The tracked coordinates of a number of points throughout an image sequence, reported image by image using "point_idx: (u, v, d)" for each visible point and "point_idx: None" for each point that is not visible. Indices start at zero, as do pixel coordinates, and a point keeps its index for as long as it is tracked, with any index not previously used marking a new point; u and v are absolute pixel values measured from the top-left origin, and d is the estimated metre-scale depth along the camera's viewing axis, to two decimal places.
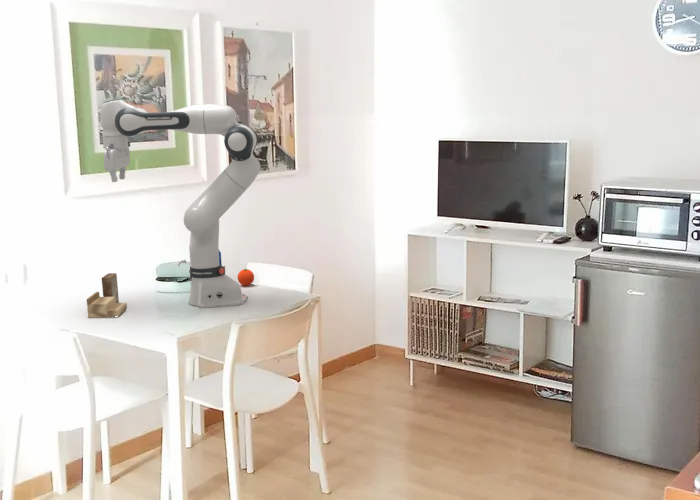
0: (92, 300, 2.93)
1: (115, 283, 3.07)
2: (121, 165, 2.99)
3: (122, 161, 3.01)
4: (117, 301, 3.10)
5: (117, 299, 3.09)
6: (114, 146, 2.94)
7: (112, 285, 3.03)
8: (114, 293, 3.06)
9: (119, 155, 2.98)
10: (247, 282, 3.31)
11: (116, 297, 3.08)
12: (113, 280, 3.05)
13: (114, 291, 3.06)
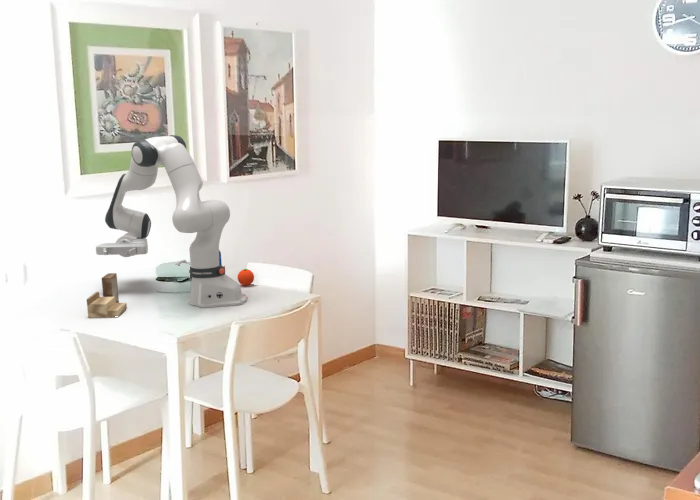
0: (92, 300, 2.93)
1: (115, 283, 3.07)
2: (118, 245, 3.21)
3: (124, 245, 3.22)
4: (117, 301, 3.10)
5: (117, 299, 3.09)
6: None
7: (112, 285, 3.03)
8: (114, 293, 3.06)
9: (120, 244, 3.25)
10: (247, 282, 3.31)
11: (116, 297, 3.08)
12: (113, 280, 3.05)
13: (114, 291, 3.06)
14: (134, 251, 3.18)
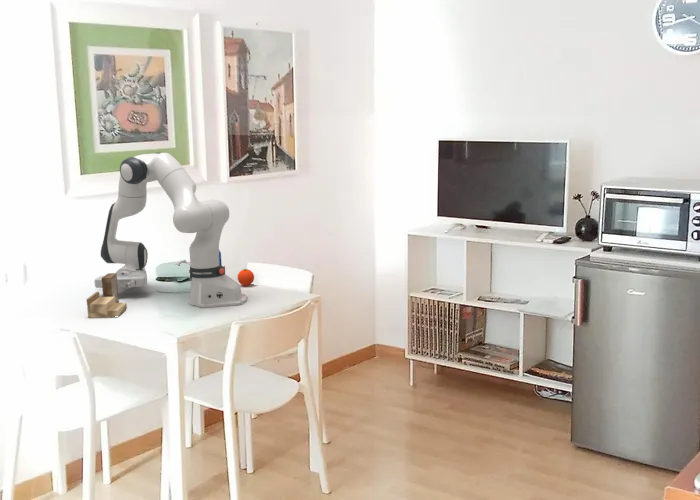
0: (92, 300, 2.93)
1: (115, 283, 3.07)
2: (117, 278, 3.17)
3: (123, 277, 3.18)
4: (117, 301, 3.10)
5: (117, 299, 3.09)
6: None
7: (112, 285, 3.03)
8: (114, 293, 3.06)
9: (119, 276, 3.21)
10: (247, 282, 3.31)
11: (116, 297, 3.08)
12: (113, 280, 3.05)
13: (114, 291, 3.06)
14: (133, 284, 3.15)
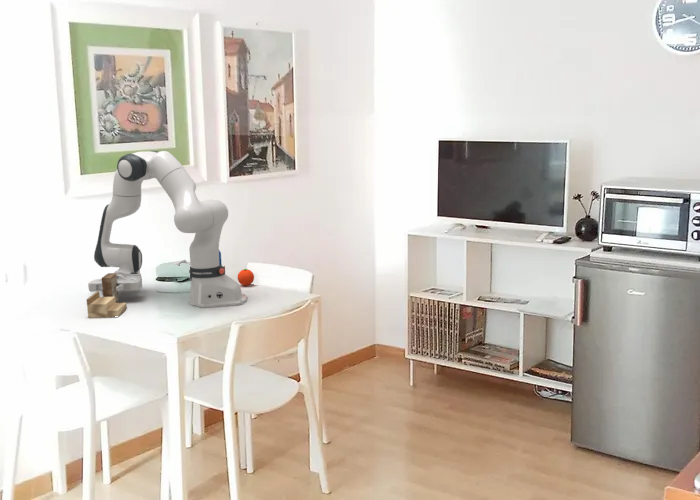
0: (92, 300, 2.93)
1: (115, 283, 3.07)
2: None
3: (117, 281, 3.12)
4: (117, 301, 3.10)
5: (117, 299, 3.09)
6: None
7: (112, 284, 3.03)
8: (114, 293, 3.06)
9: None
10: (247, 282, 3.31)
11: (116, 297, 3.08)
12: (113, 280, 3.05)
13: None
14: (121, 288, 3.08)
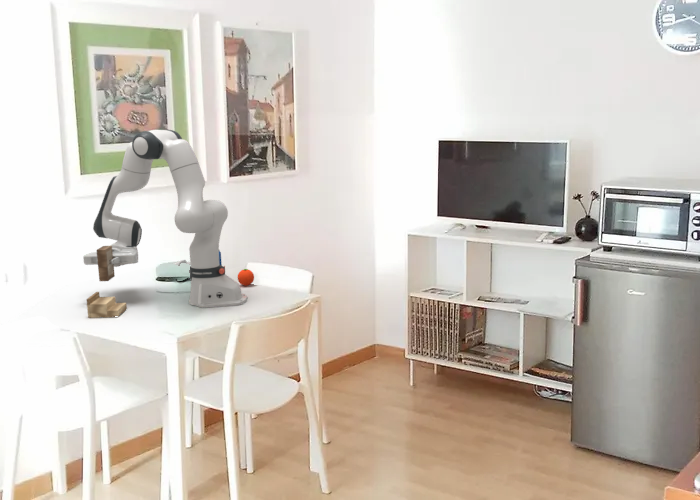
0: (92, 300, 2.93)
1: (110, 256, 3.03)
2: None
3: (113, 254, 3.07)
4: (113, 274, 3.05)
5: (113, 272, 3.05)
6: None
7: (107, 257, 2.99)
8: (109, 266, 3.01)
9: None
10: (247, 282, 3.31)
11: (111, 270, 3.03)
12: (108, 252, 3.00)
13: (109, 264, 3.01)
14: (117, 260, 3.03)
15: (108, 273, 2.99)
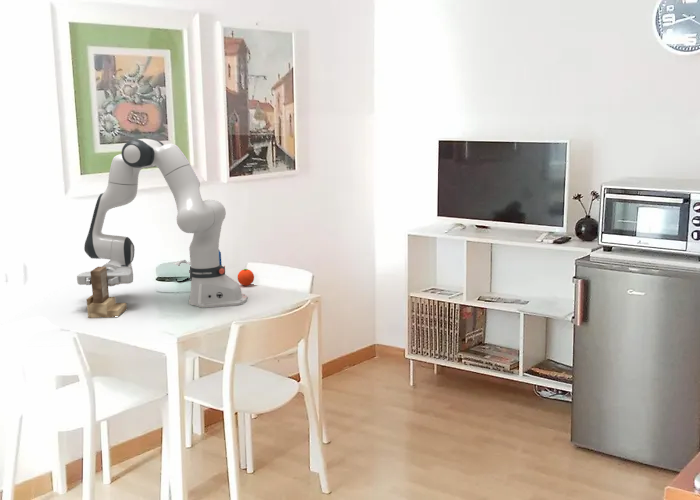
0: (92, 300, 2.93)
1: (105, 277, 2.96)
2: None
3: (107, 273, 3.00)
4: (107, 295, 2.98)
5: (107, 293, 2.98)
6: None
7: (101, 278, 2.92)
8: (104, 288, 2.94)
9: None
10: (247, 282, 3.31)
11: (106, 291, 2.96)
12: (103, 274, 2.93)
13: (104, 285, 2.94)
14: (116, 280, 2.96)
15: (102, 295, 2.92)
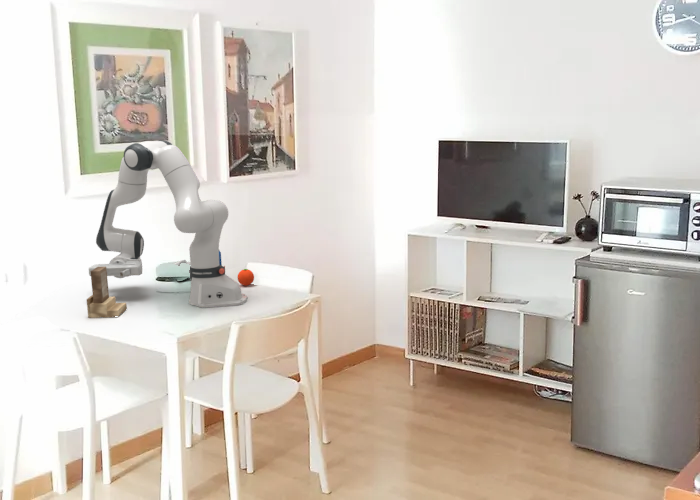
0: (92, 300, 2.93)
1: (105, 277, 2.96)
2: (112, 266, 3.11)
3: (118, 265, 3.12)
4: (107, 295, 2.98)
5: (107, 293, 2.98)
6: None
7: (101, 278, 2.92)
8: (104, 288, 2.94)
9: (113, 265, 3.15)
10: (247, 282, 3.31)
11: (106, 291, 2.96)
12: (103, 274, 2.93)
13: (104, 285, 2.94)
14: (128, 272, 3.09)
15: (102, 295, 2.92)
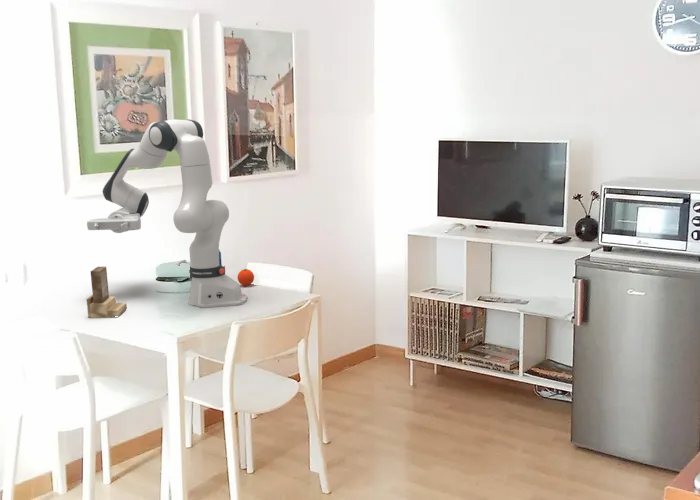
0: (92, 300, 2.93)
1: (105, 277, 2.96)
2: (110, 220, 3.11)
3: (116, 219, 3.12)
4: (107, 295, 2.98)
5: (107, 293, 2.98)
6: None
7: (101, 278, 2.92)
8: (104, 288, 2.94)
9: (112, 219, 3.15)
10: (247, 282, 3.31)
11: (106, 291, 2.96)
12: (103, 274, 2.93)
13: (104, 285, 2.94)
14: (126, 226, 3.08)
15: (102, 295, 2.92)
